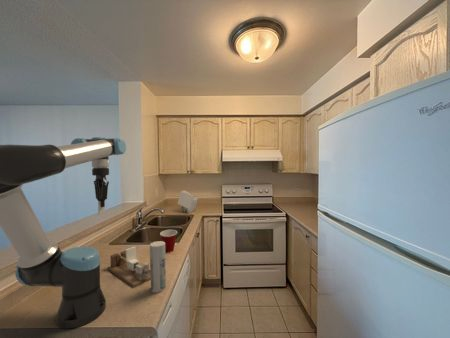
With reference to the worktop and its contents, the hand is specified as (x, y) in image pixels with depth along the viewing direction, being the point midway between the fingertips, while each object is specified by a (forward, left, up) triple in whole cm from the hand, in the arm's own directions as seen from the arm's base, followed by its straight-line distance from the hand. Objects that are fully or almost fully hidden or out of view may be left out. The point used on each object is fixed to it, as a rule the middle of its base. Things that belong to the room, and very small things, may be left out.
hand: (101, 213), depth 109 cm
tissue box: (+121, +70, -31) cm, 143 cm away
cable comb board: (+8, -14, -30) cm, 34 cm away
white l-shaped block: (+8, -16, -27) cm, 33 cm away
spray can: (+8, -37, -31) cm, 49 cm away
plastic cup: (+37, -6, -31) cm, 48 cm away
